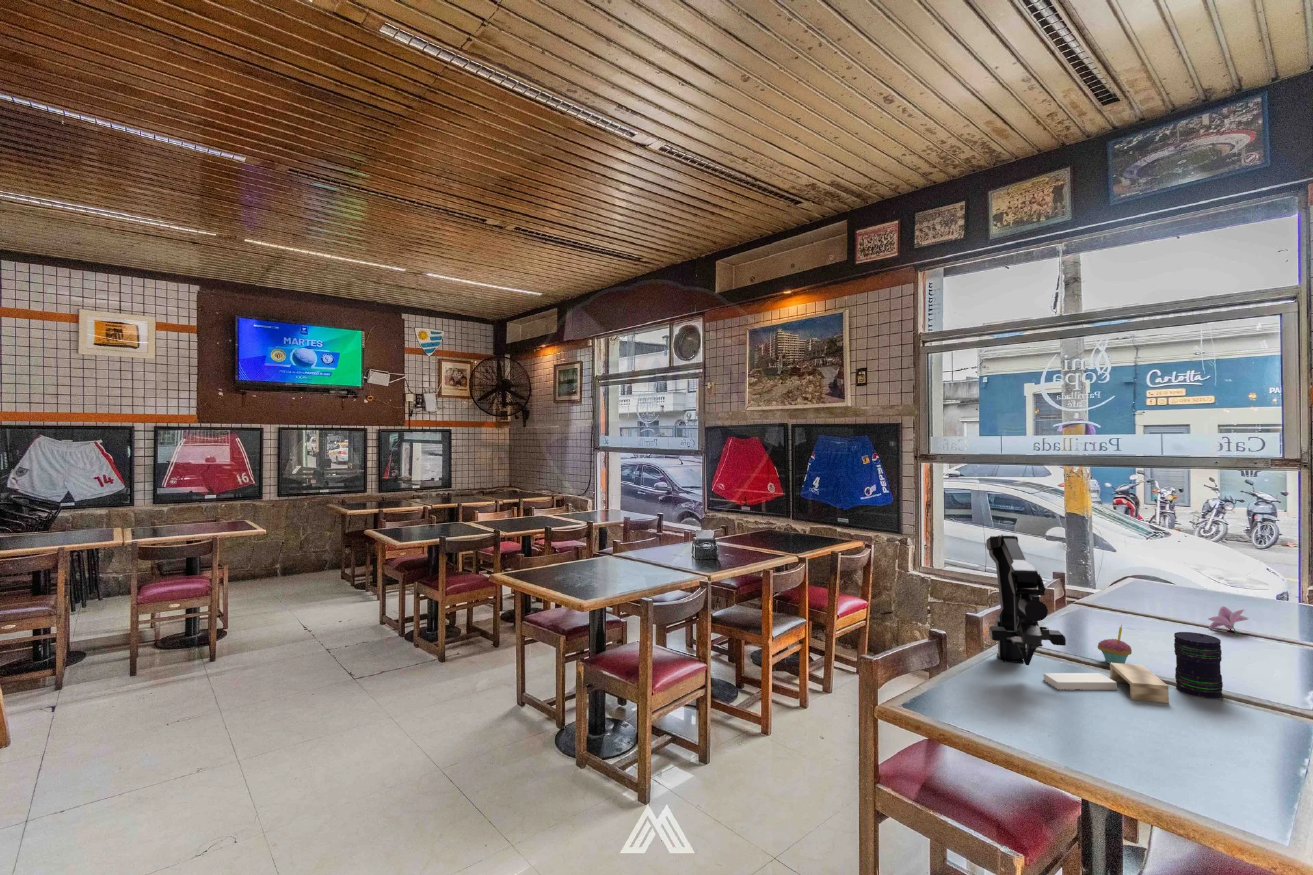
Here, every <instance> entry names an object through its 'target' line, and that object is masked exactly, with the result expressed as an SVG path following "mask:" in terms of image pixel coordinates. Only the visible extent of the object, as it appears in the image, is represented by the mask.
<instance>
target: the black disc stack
mask: <svg viewBox="0 0 1313 875" xmlns="http://www.w3.org/2000/svg"><path fill="white" fill-rule="evenodd" d="M1173 636H1174V643H1173V646H1174V655H1175V663H1176V664H1175V674H1174V677H1175V678H1174V679H1175V683H1176V685H1175V689H1176V690H1177V691H1179V692H1180V693H1182V694H1185V695H1188V696H1191V695H1192V697H1196V698H1201V699H1206V700H1208V699H1209V700H1212V699H1213V700H1216V699H1217V700H1218V699H1222V698H1223V697H1222V695H1223V687H1224V683H1223V676H1222V673H1221V662H1222V655H1223V654H1222V646H1221V644H1222V642H1221V641H1222V640H1221V639H1220V638H1218V637H1215V636H1213V635H1209V634H1205V633H1204V634H1203V633H1199V632H1189V631H1178V632H1174V635H1173ZM1223 696H1224V695H1223Z"/></svg>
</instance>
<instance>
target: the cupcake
mask: <svg viewBox="0 0 1313 875" xmlns="http://www.w3.org/2000/svg"><path fill="white" fill-rule="evenodd" d="M1122 626H1123V624H1120V626H1119V628H1118V633H1117V634H1118V635H1117V638H1109V639H1107V638H1106V639H1103V640H1100V641H1099V642H1098V645H1097V649H1098V650H1100V652H1101V653H1102V654H1103V657H1104V660H1105V662H1106V661H1107V662H1106V663H1108V662H1112V663H1122V664H1126V662H1127V658H1128V657H1129V655H1132V653H1133V652H1132V650H1133V649H1132V647H1131V646H1130V645H1129V644H1128V643H1127V642H1125V641H1124V640H1123V641H1122V640H1121V636H1122V631H1123V627H1122Z"/></svg>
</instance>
